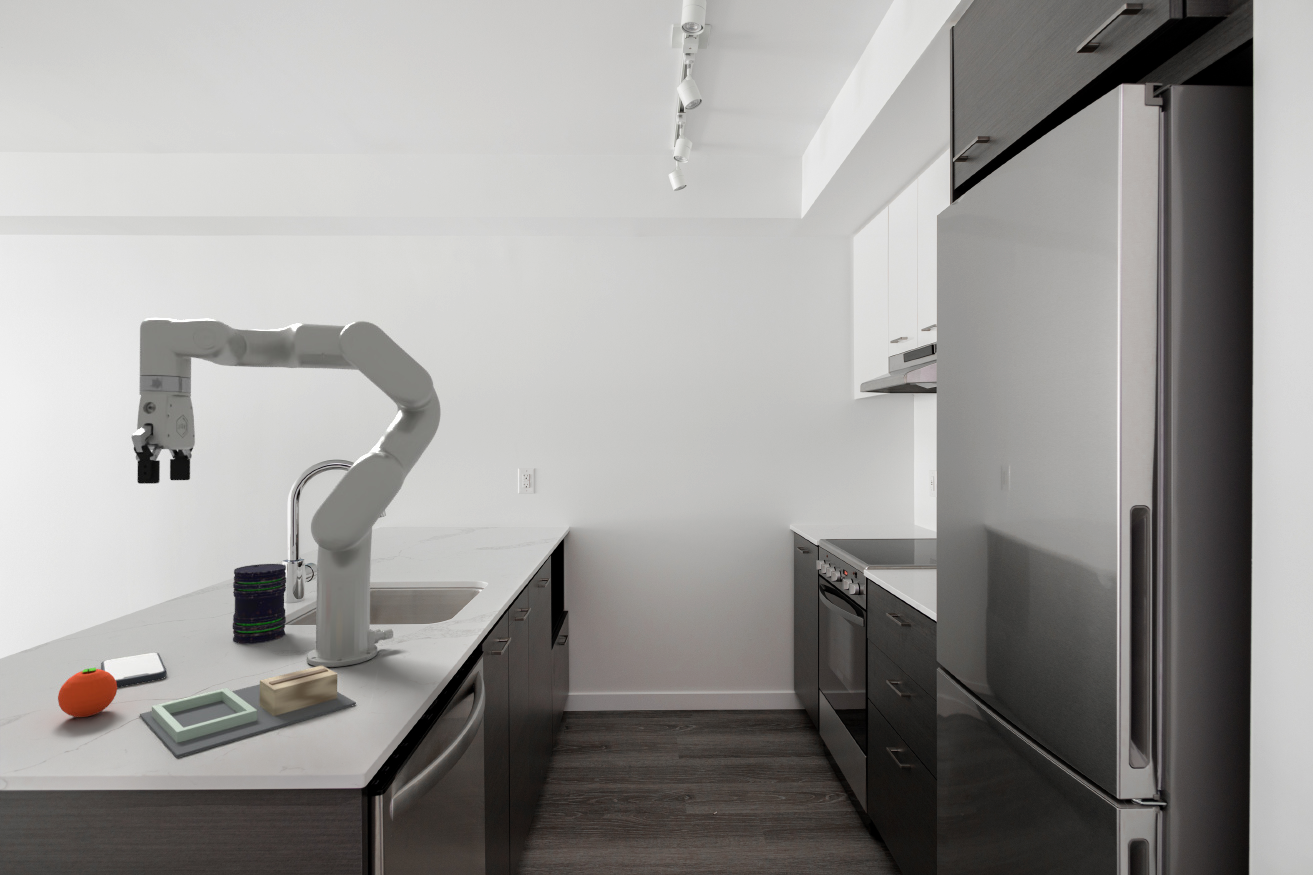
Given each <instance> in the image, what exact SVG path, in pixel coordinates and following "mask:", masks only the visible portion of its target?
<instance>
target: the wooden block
mask: <svg viewBox="0 0 1313 875" xmlns="http://www.w3.org/2000/svg"><path fill="white" fill-rule="evenodd" d="M259 684H260V702H259V706H261V707H262V708H263V709H265V710H266V711H268V712H269V713H270V714H272V715H273V716H276V715H279V714H283V713H286V712H290V711H294V710H297V709H301V708H304V707H308V706H311V705H315V704H318V703H322V702H325V701H329V700H332V699H336V698H337V692H338V673H337V672H335V671H333V670H331V669H329V667H324V666H322V665H321V666H313V667H309V668H306V669H302V670H301V669H300V670H296V671H293V672H289V673H285V674H280V675H277V676H272V677H269V678H265V679H261V680H259Z"/></svg>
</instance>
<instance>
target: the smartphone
mask: <svg viewBox="0 0 1313 875" xmlns="http://www.w3.org/2000/svg"><path fill="white" fill-rule="evenodd" d="M100 668H101V670H104V671H106V672H108V673H110V674H111V675H112V676H113V677H114V679H115V680H116V683H117V688H122V687H121V686H123V687H127V686H126V685H128V686H132V684H134V685H138V684H137V683H139V684H143V683H142V682H145V683H149V682H148V681H150V682H153V681H152V680H155V681H159V680H158V679H160V680H163V679H165V678H166V677H167V668H166V666H165V664H164V662H163V660H162V657H161V655H160V653H159V652H149V653H142V654H136V655H130V656H129V655H128V656H123V657H118V658H111V659H107V660H103V661H102V662H101V663H100ZM164 677H165V678H164ZM162 678H163V679H162Z"/></svg>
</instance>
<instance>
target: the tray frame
mask: <svg viewBox="0 0 1313 875" xmlns="http://www.w3.org/2000/svg"><path fill="white" fill-rule="evenodd" d="M232 691H233V690H230V689H229V687H225V688H221V689H217V690H212V691H208V692H204V693H200V694H197V695H191V696H188V697H185V698H180V699H175V700H171V701H167V702H163V703H159V704H154V705H152V706H151V711H152V717H153V718H154V719H155V720H156V721H157V722H158V723H159V724H160V725H161V726H162V728H163V729H164V730H165V731H166V732H167V733H168V734H169V735H170V736H171V737H172V738H173V739H174V740H175V741H176V743H178V742H182V741H185V740H189V739H193V738H196V737H200V736H203V735H207V734H210V733H214V732H217V731H221V730H224V729H228V728H231V727H235V726H238V725H242V724H245V723H249V722H253V721H256V720H257V710H256V709H255V708H253V707H252V706H251V705H249V704H248V703H247V702H245V701H244V700H243V699H241V698H240V697H239V696H237V695H236V694H235V693H233V692H232ZM218 701H223V702H224V703H226V704H227V705H228V706H229V707H231V708H232V709H233V710H235V711H236V712H237V713H236V714H232V715H229V716H225V717H221V718H218V719H214V720H210V721H207V722H203V723H199V724H195V725H192V726H188V727H184V728H183V727H182V726H181V725H180V724H179V723H178V722H177V721H176V720H175V719H174V718H173V717H172V716H171V715H170V713H174V712H178V711H182V710H186V709H190V708H194V707H198V706H202V705H206V704H210V703H214V702H218Z"/></svg>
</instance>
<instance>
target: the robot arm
mask: <svg viewBox="0 0 1313 875" xmlns="http://www.w3.org/2000/svg"><path fill="white" fill-rule="evenodd" d="M140 323H141V324H140V327H139V392H138V393H139V396H140V399H139V404H138V414H137V424H136V426H137V428H136V432H134V433H133V434H132V435H131V441H132V444H133V451H134V453H135V454H136V455H135V460H136V461H137V479H136V480H137V483H138V484H144V485H145V484H147V485H148V484H159V483H160V481H161V480H160V477H161V476H160V474H161V473H160V468H161V465H160V464H161V463H160V462H161V461H160V460H159V459H158V458H159V455H160V453H161V451H162V450H169V453H170V455H171V457H172V458H170V459H169V479H170V480H171V481H189V480H190V479H191V459H192V451H193V449H194V447H195V444H196V441H195V440H196V438H195V437H196V436H195V435H196V434H195V419H194V418H195V417H194V407H193V403H192V398H191V397H192V394H191V393H192V358H194V359H199V360H200V359H201V360H203V361H208V362H211V363H213V364H217V365H220V366H226V367H227V366H228V367H250V368H287V369H297V368H298V369H300V368H301V369H332V370H335V369H336V370H351V371H353V370H357V371H359V372H360V373H361V374H362V375H363V376H365V377H366V378H367V379H368V380H369V381H370V382H372V383H373V385H375V386H376V387H377V388H378V389H379V390H380V391H381V392H383V393H384V394H385V396H387V397H388V398H389V399H391V401H393V403H394V404H395V405H396V406H397V411H396V415H395V417H394V419H393V421H391V423H390V424H389V425H388V426H387V428H386V429H385V431H384V432H383V434H382V435H381V436H380V438H379V439H378V440H377V441H376V443H375V444H374V445H373V447H372V448H371V449H370V450H369V451H368V452H367V453H366V454H363V455H362V456H360V457H359V458H358V459H356V460H355V461H354V463H352V464H351V466H350V467H349V468H348V469H347V472H345V474H344V475H343V477H342V478H341V479H340V480H339V482H338V483H337V484H336V485H335V486H334V488H333V489H332V491H331V492H330V493H329V494H328V496H327V497H326V498H325V499H324V501H323V502H322V504H321V505H320V506H319V507H318V509H316V511H315V513H314V514H313V516H312V519H311V522H310V532H311V536H312V538H313V540H314V542H315V543H316V544H317V545H318V546H317V548H318V549H317V564H316V565H317V566H316V607H315V609H316V611H315V612H316V613H315V615H316V616H315V617H316V618H315V619H316V620H315V626H316V627H315V648H314V649H312V650H310V651H309V652H308V653H307V654H306V663H307V664H309V665H311V666H313V667H317V666H321V665H322V666H324V667H326V668H334V667H335V668H337V667H339V668H340V667H346V666H351V665H356V664H357V665H358V664H361V663H363V662H367V661H369V660H371V659H373V658H374V657H376V656H377V655H378V651H379V650H378V649H379V648H378V646H377V645H376V644H378V643H379V641H386V640H390V639H393V638H394V630H393V629H392V628H390V629H389V628H388V629H384V630H381V629H380V628H379V629H371V628H370V624H371V622H370V619H371V618H370V617H371V615H370V614H371V611H370V610H371V609H370V608H371V570H372V569H371V566H372V564H371V563H372V562H371V560H372V536H373V535H372V534H373V527H374V525H375V524H376V522H377V521H378V520H379V519H380V517H381V516H382V515H383V513H384V512H385V511H386V510H387V508H388V507H389V505H390V504H391V503H392V501H393V500H394V498H395V497H396V496H397V494H398V493H399V491H400V490H401V489H402V486H403V484H404V482H405V480H406V478H407V476H408V475H409V474H410V472H411V471H412V470H413V468H414V466H415V465H416V464H417V462H418V461H419V459H420V458H421V457H422V455H423V454H424V452H425V451H426V450H427V448H428V447H429V446H430V444H431V442H432V441H433V439H434V437H435V435H436V433H437V431H438V429H439V426H440V422H441V403H440V400H439V396H438V394H437V392H436V389H435V387H434V381H433V378H432V376H431V375H430V373H429V371H427V370H426V369H425V368H424V367H423V366H422V365H421V364H420V363H419V362H417V361H416V359H415V358H413V357H412V356H411V355H410V354H409V353H407V351H405V350H404V349H403V348H402V347H401V346H400V345H399V344H398V343H396V342H395V341H394V340H393V339H392V338H391V337H390V336H389V335H388V334H387V333H386V332H385V331H384V330H383V329H382V328H380V327H379V326H378V325H376V324H374V323H372V322H369V321H364V320H362V321H360V320H359V321H355V322H351V323H349V324H348V325H332V324H331V325H330V324H316V323H314V324H313V323H295V324H291V325H289V326H287V327H284V328H278V329H268V330H267V329H248V328H247V329H246V328H236V327H235V328H234V327H231V326H229V325H228V324H226V323H224V322H223V321H220V320H218V319H211V318H198V319H185V320H184V319H183V320H179V319H178V320H177V319H173V318H163V317H161V318H159V317H151V318H146V319H144V320H142V321H141V322H140Z"/></svg>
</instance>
